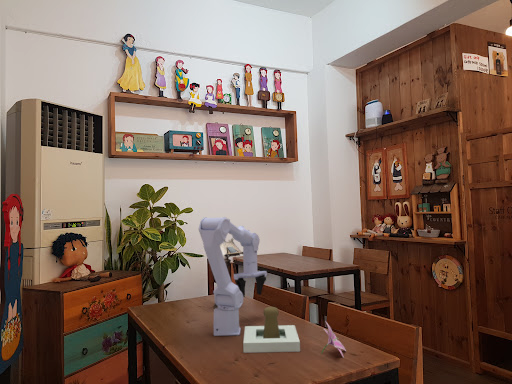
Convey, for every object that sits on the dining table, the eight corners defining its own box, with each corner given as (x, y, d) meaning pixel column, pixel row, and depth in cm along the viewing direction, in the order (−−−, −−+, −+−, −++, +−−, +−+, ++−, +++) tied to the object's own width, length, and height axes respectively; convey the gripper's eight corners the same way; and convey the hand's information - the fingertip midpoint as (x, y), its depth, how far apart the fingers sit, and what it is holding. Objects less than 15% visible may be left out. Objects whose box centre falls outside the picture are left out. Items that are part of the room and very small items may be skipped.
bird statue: (252, 310, 175) (250, 232, 177) (228, 315, 167) (226, 234, 169) (233, 303, 188) (231, 231, 190) (209, 307, 181) (208, 233, 183)
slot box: (243, 352, 122) (243, 343, 122) (245, 334, 140) (245, 326, 140) (300, 351, 122) (299, 341, 122) (294, 333, 140) (294, 325, 140)
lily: (330, 366, 112) (345, 339, 112) (303, 344, 119) (317, 319, 119) (346, 366, 120) (359, 341, 120) (320, 345, 127) (332, 322, 128)
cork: (279, 343, 129) (278, 309, 129) (261, 342, 130) (260, 309, 130) (281, 337, 134) (280, 305, 135) (264, 336, 136) (263, 305, 136)
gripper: (239, 264, 151) (239, 299, 150) (270, 261, 158) (271, 294, 158) (231, 262, 157) (231, 296, 156) (261, 259, 164) (262, 292, 164)
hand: (251, 295), depth 157 cm, fingers open, 7 cm apart
